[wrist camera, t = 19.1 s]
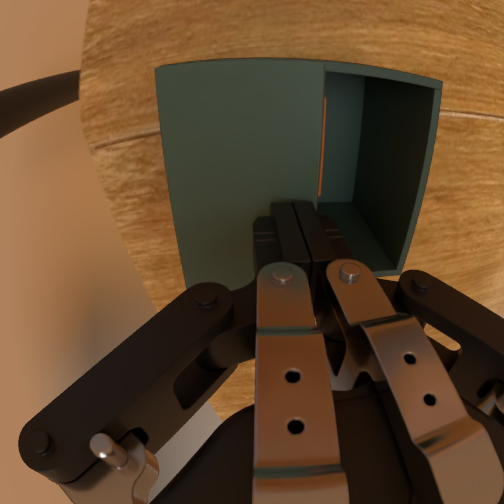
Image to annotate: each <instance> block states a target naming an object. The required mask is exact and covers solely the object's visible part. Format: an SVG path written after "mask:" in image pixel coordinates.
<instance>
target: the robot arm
mask: <svg viewBox="0 0 504 504" xmlns="http://www.w3.org/2000/svg"><path fill="white" fill-rule="evenodd" d="M252 229H253V262H254V273H255V278H254V280H253V281H252V282H251V283H249V284H248V285H246V286H244V287H242V288H239V289H236V290H233V291H230V290H229V289H228V288H227V287H226V286H224V285H222V284H220V283H216V282H202V283H198V284H195V285H193V286H191V287H189V288H188V289H187V290H185V291H184V292H183V293H182V294H180V295H179V296H178V297H177V298H175V299H174V300H173V301H172V302H171V303H169V304H168V305H167V306H166V307H165V308H163V309H162V310H161V311H160V312H158V313H157V314H156V315H155V316H154V317H152V318H151V319H150V320H149V321H148V322H146V323H145V324H144V325H143V326H142V327H140V328H139V329H138V330H137V331H135V332H134V333H133V334H132V335H131V336H129V337H128V338H127V339H126V340H125V341H123V342H122V343H121V344H120V345H119V346H117V347H116V348H115V349H114V350H113V351H112V352H110V353H109V354H108V355H107V356H105V357H104V358H103V359H102V360H101V361H99V362H98V363H97V364H96V365H95V366H94V367H92V368H91V369H90V370H89V371H87V372H86V373H85V374H84V375H83V376H82V377H80V378H79V379H78V380H77V381H76V382H74V383H73V384H72V385H71V386H70V387H68V388H67V389H66V390H65V391H64V392H63V393H61V394H60V395H59V396H58V397H57V398H55V399H54V400H53V401H52V402H51V403H50V404H48V405H47V406H46V407H45V408H44V409H43V410H41V411H40V412H39V413H38V414H37V415H35V416H34V417H33V418H32V419H31V420H30V421H28V422H27V424H25V426H24V427H23V429H22V431H21V433H20V436H19V441H18V446H19V452H20V455H21V458H22V459H23V461H24V463H25V464H26V465H27V466H28V467H29V468H31V469H33V470H34V471H36V472H38V473H40V474H42V475H44V476H45V477H47V478H48V479H49V480H51V481H53V482H55V483H56V484H58V485H59V486H60V487H61V489H62V490H63V491H64V492H65V494H66V495H67V496H68V497H69V499H70V500H71V501H72V502H73V503H74V504H148V495H149V492H150V490H151V488H152V487H153V485H154V484H155V483H156V481H157V479H158V476H159V464H158V461H157V459H156V457H155V456H154V454H155V453H157V452H158V450H160V448H161V447H163V446H164V445H165V443H167V442H168V441H169V440H170V439H171V437H173V435H175V434H176V433H177V431H178V430H179V429H180V428H181V427H182V426H183V425H184V424H185V423H186V422H187V421H188V420H189V419H190V418H191V417H192V416H193V415H194V414H195V413H196V412H197V411H198V410H199V409H200V408H201V406H203V404H204V403H205V402H206V401H207V400H208V399H209V398H210V397H211V396H212V395H213V394H214V393H215V392H216V391H217V389H218V388H219V387H220V386H221V385H222V384H223V383H224V382H225V381H226V380H227V379H228V377H229V376H230V375H231V374H232V373H233V372H234V371H235V369H236V368H237V366H238V364H239V363H242V362H245V361H248V360H250V359H253V358H255V404H253V405H250V406H248V407H246V408H243V409H242V410H240V411H238V412H236V413H234V414H233V415H232V416H230V417H229V418H227V419H226V420H225V421H224V422H223V423H222V424H221V425H220V426H219V427H218V428H217V429H216V430H215V431H214V432H213V433H212V435H211V436H210V437H209V438H208V439H207V440H206V442H205V443H204V444H203V445H202V446H201V448H200V449H199V450H198V451H197V452H196V453H195V454H194V456H193V457H192V458H191V459H190V460H189V461H188V462H187V464H186V465H185V466H184V467H183V468H182V469H181V470H180V472H179V473H178V474H177V475H176V476H175V477H174V478H173V479H172V480H171V481H170V482H169V483H168V484H167V486H166V487H165V488H164V489H163V490H162V491H161V492H160V493H159V494H158V495H157V496H156V497H155V498H154V499H153V500H152V501H151V502H150V504H504V319H503V318H502V317H500V316H499V315H497V314H495V313H494V312H492V311H491V310H489V309H487V308H486V307H484V306H482V305H481V304H479V303H478V302H476V301H474V300H473V299H471V298H469V297H468V296H466V295H464V294H463V293H461V292H459V291H458V290H456V289H454V288H452V287H451V286H449V285H447V284H446V283H444V282H442V281H440V280H439V279H437V278H435V277H433V276H432V275H430V274H428V273H426V272H423V271H420V270H408V271H405V272H403V273H402V274H401V276H400V278H399V281H398V282H396V281H390V280H384V279H379V278H375V276H374V275H373V273H372V272H371V270H370V269H369V268H368V267H367V266H366V265H365V264H363V263H362V262H359V261H357V260H355V259H354V257H353V255H352V253H351V251H350V249H349V247H348V245H347V243H346V241H345V240H344V238H343V236H342V234H341V232H340V231H339V228H338V226H337V224H336V222H335V221H334V220H333V219H331V218H330V217H329V216H328V215H326V214H317V212H316V209H315V207H314V205H313V203H312V202H292V203H291V202H276V203H271V204H270V216H257V218H256V219H255V221H254V223H253V224H252ZM314 317H315V319H316V323H317V324H316V325H315V319H314ZM426 323H428V324H429V325H431V326H432V327H434V328H436V329H437V330H439V331H440V332H442V333H444V334H445V335H447V336H448V337H450V338H452V339H453V340H455V341H456V342H458V343H459V344H460V346H461V348H460V349H459V350H456V351H452V350H449V349H448V348H446V347H444V346H443V345H441V344H440V343H438V342H437V341H435V340H434V339H432V338H430V337H429V336H427V335H426V334H425V332H424V330H423V329H424V327H425V325H426Z"/></svg>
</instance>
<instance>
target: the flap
mask: <svg viewBox="0 0 504 504" xmlns="http://www.w3.org/2000/svg"><path fill="white" fill-rule="evenodd" d="M325 68H326V64H325V63H322V62H309V61H289V60H234V61H214V62H201V63H190V64H180V65H172V66H164V67H157V68H155V80H156V91H157V102H158V112H159V121H160V130H161V138H162V146H163V154H164V161H165V168H166V175H167V182H168V189H169V195H170V202H171V208H172V214H173V220H174V226H175V231H176V237H177V243H178V248H179V253H180V259H181V264H182V269H183V274H184V279H185V284H186V289H188V288H189V287H191V286H193V285H195V284H198V283H202V282H216V283H220V284H222V285H224V286H226V287H227V288H228V289H229V290H230V291H233V290H236V289H239V288H242V287H244V286H246V285H248V284H249V283H251V282H252V281H253V280H254V278H255V273H254V262H253V229H252V224H253V223H254V221H255V219H256V218H257V216H270V204H271V203H276V202H291V203H292V202H312V203H313V205H314V207H315V209H316V212H317V201H318V190H319V178H320V166H321V152H322V137H323V119H324V98H325Z"/></svg>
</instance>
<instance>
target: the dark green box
mask: <svg viewBox="0 0 504 504" xmlns="http://www.w3.org/2000/svg"><path fill="white" fill-rule="evenodd" d="M234 60H289V61H309V62H322V63H325V64H326V68H325V97H326V119H325V139H324V155H323V170H322V184H321V195H320V196H318V201H317V214H326V215H328V216H329V217H330V218H331V219H333V220H334V221H335V222H336V224H337V226H338V228H339V231H340V232H341V234H342V236H343V238H344V240H345V241H346V243H347V245H348V247H349V249H350V251H351V253H352V255H353V257H354V259H355V260H357V261H359V262H362V263H363V264H365V265H366V266H367V267H368V268H369V269H370V270H371V272H372V273H373V275H374V276H375V277H384V276H395V275H401V272H402V269H403V267H404V264H405V260H406V257H407V254H408V251H409V248H410V244H411V241H412V238H413V234H414V231H415V227H416V224H417V220H418V216H419V213H420V209H421V205H422V201H423V197H424V193H425V188H426V184H427V179H428V175H429V170H430V165H431V160H432V155H433V150H434V144H435V138H436V132H437V126H438V119H439V112H440V104H441V96H442V91H441V90H442V86H443V81H440V80H437V79H433V78H429V77H425V76H421V75H417V74H412V73H408V72H403V71H399V70H394V69H388V68H383V67H377V66H371V65H365V64H357V63H349V62H341V61H331V60H319V59H303V58H274V57H255V58H225V59H210V60H198V61H188V62H181V63H174V64H168V65H162V66H159V67H164V66H172V65H180V64H190V63H201V62H214V61H234Z"/></svg>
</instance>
